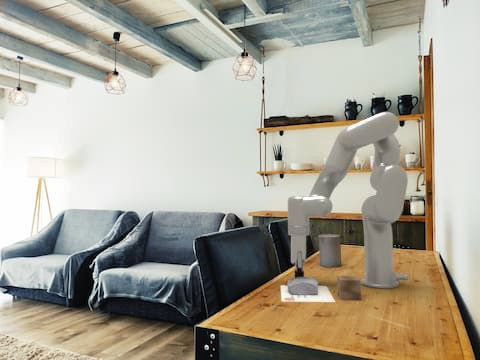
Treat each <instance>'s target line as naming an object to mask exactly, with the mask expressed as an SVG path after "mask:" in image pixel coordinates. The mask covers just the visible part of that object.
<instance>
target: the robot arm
mask: <svg viewBox="0 0 480 360" xmlns="http://www.w3.org/2000/svg"><path fill="white" fill-rule="evenodd" d="M399 123H400V122H399V118H398V117H397V116H396V115H395V114H394V113H393V112H390V111H383V112H380V113H377V114H374V115H373V116H370V117H368V118H366V119H364V120H360V121H359V122H356V123H353V124H351V125H348V126H347V127H345V128H344V129H342V130H340V132H339V133H338V134H337V136H336V138H335V140H334V143H333V145H332V148H331V149H330V152H329V154H328V157H327V159H326V161H325V162H324V165H323V167H322V169H321V171H320V173H319V175H318V177H317V178H316V180H315V183H313V186H312V189H311V190H310V193H309V195H308V196H302V195H300V196H299V195H298V196H290V197H288V199H287V235H288V236H291V237H290V263H291V264H292V265H294V268H295V269H294V278H296V277H305V270H304V265H305V264H306V260H307V236H310V216H311V217H312V216H313V217H319V218H320V217H321V218H322V217H326V216H328V215H329V214H330V213H331V212H332V211H333V202H332V200H331V199H330V198H331V196H332V194H333V192H334V190H335V188H336V187H337V186H338V185H339V183H341V182H342V181H343V180H344V179H345V178H346V176H347V174H348V173H349V170H350V168H351V165H352V163H353V160H354V159H355V156H356V154H357V152H358V150H359V149H361V148H364V147H367V146H370V145H372V144H373V147H374V158H373V161H372V167H371V172H370V177H369V183H370V186H371V187H372V189H373V190H375V191H376V193H375V195H374V194H373V195H371V196H370V195H369V197H367V198H366V199H364V201H363V202H362V206H361V219H362V225H363V243H364V245H363V247H364V248H363V249H364V250H363V251H364V277H363V278H361V279H360V283H361V285H363V286H364V287H365V286H366V287H369V288H375V289H376V288H377V289H393V288H394V289H395V288H397V287H399V285H400V284H399V281H401V280H402V281H408V280H409V274H407V273H406V274H404V273H397V272H396V271H394V245H393V243H394V242H393V227H392V224H393V223H395V222H396V221H398V220H399V219H400V217H401V215H402V212H403V208H404V205H405V204H404V203H405V199H406V194H407V189H408V183H409V181H408V175H407V172H406V170H405V169H404V167H402V166H401V165H399V164H400V157H401V145H400V142H399V140H398V138H397V137H396V135H395V133H396V132H397V131H398V128H399V125H400V124H399Z"/></svg>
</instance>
